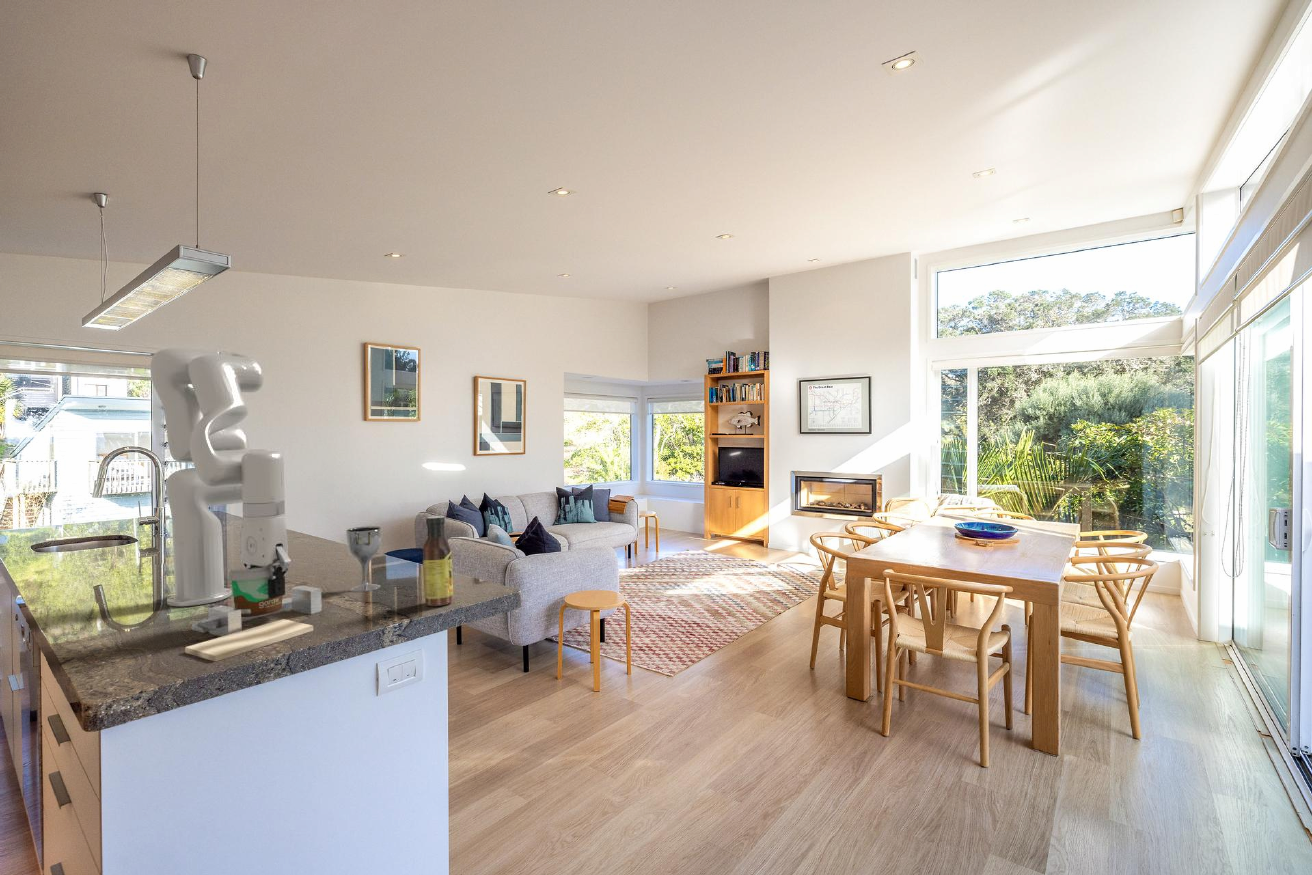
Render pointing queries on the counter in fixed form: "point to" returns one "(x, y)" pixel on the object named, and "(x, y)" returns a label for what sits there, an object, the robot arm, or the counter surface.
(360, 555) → the wine glass
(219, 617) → the vise
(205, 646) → the light wood flat board
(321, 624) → the counter surface
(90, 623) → the counter surface
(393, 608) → the counter surface
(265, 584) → the food container
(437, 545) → the sauce bottle
